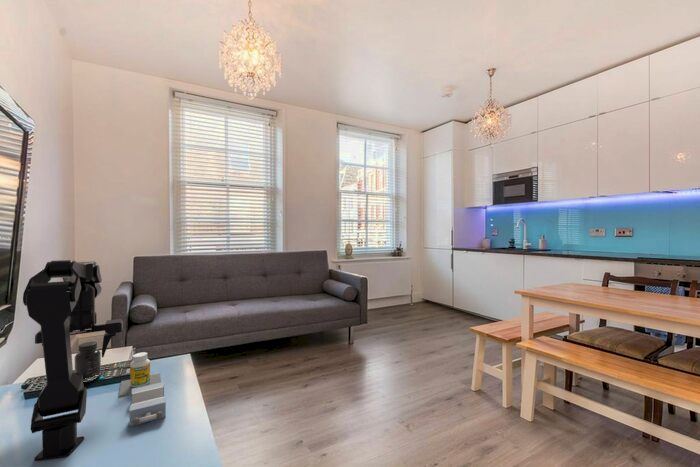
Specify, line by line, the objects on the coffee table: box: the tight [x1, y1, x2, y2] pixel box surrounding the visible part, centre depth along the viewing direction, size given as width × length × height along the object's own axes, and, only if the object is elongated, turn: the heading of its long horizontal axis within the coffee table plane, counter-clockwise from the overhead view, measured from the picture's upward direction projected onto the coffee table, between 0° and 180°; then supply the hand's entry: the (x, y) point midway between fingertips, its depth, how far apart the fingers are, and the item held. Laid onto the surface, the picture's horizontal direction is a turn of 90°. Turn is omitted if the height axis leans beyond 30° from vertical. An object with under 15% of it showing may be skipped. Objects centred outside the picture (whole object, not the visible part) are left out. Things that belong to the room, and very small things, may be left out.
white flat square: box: [118, 373, 162, 398], centre depth 104 cm, size 11×11×1 cm
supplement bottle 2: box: [129, 351, 151, 388], centre depth 104 cm, size 5×5×10 cm
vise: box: [129, 381, 167, 427], centre depth 89 cm, size 16×8×4 cm, turn 32°
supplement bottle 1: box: [74, 341, 102, 379], centre depth 108 cm, size 7×7×12 cm
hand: (82, 360), depth 92 cm, fingers open, 9 cm apart
